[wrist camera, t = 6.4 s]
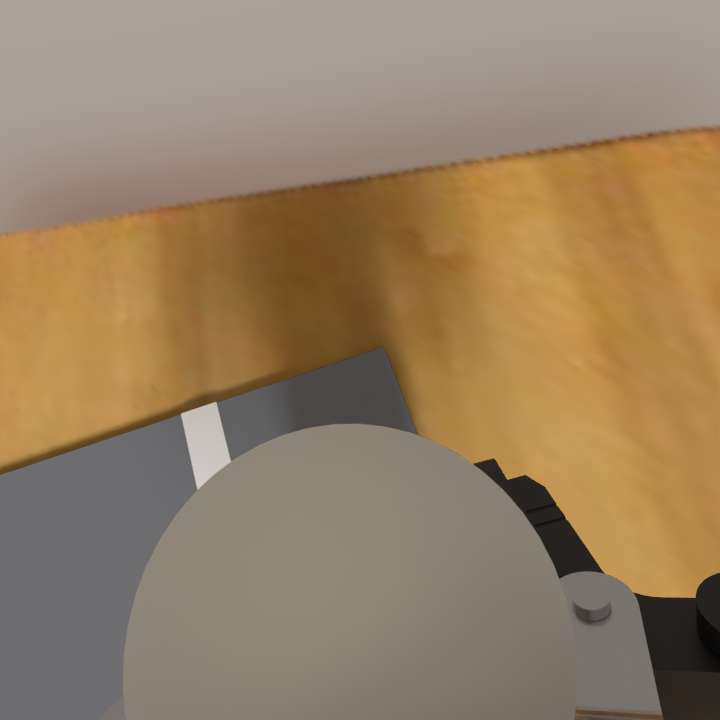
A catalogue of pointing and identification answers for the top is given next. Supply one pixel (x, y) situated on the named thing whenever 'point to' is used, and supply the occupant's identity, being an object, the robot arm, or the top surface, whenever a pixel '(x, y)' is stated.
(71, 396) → the top surface
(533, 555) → the white cylinder
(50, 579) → the gray striped mat
